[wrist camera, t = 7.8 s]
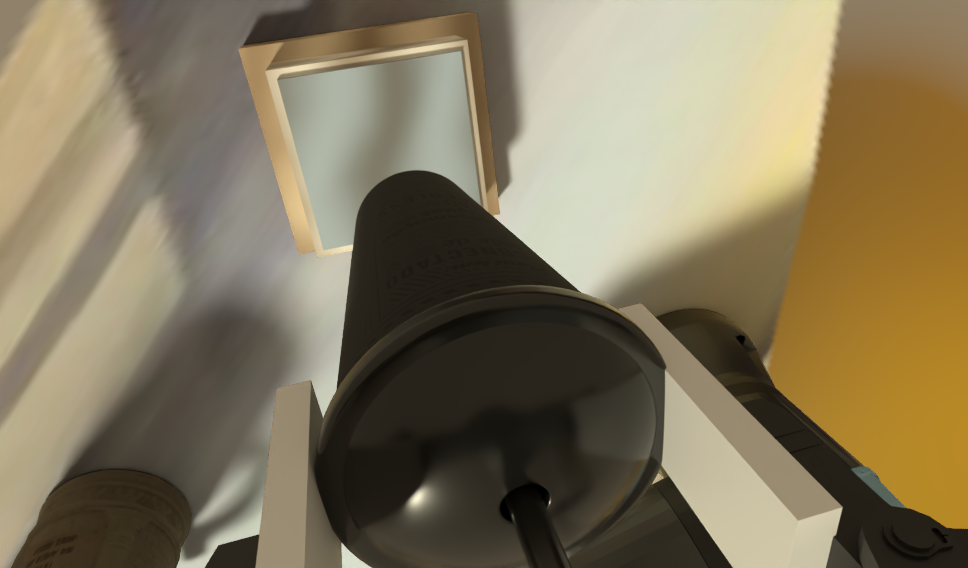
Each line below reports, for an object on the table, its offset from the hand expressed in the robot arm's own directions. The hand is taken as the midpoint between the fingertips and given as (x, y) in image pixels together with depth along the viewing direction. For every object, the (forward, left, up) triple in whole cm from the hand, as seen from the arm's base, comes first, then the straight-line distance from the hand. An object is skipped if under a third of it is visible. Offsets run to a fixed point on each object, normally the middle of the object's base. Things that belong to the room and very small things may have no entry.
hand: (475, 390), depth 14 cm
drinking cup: (0, 0, -11) cm, 11 cm away
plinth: (0, 0, -29) cm, 29 cm away
